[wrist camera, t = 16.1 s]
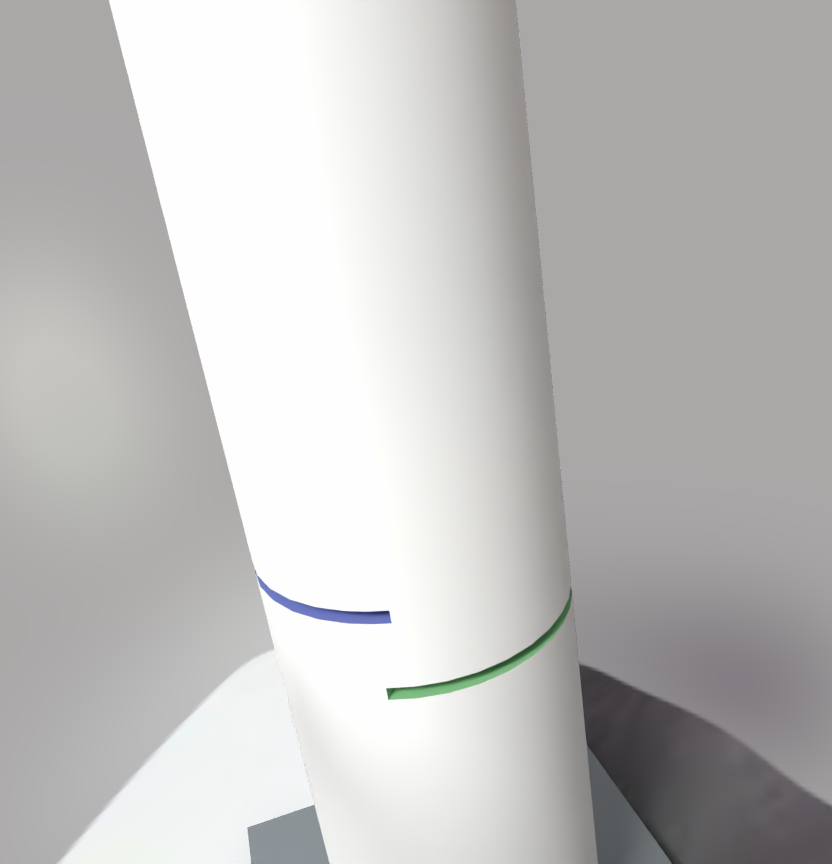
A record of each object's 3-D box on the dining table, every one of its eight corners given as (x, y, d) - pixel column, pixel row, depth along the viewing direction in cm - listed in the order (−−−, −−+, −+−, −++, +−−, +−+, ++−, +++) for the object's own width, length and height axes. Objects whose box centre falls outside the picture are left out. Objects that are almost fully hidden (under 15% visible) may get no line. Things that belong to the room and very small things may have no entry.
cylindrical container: (402, 800, 27) (233, -25, 18) (616, 835, 25) (539, -104, 16) (310, 1012, 21) (-10, -78, 12) (583, 1089, 18) (426, -223, 10)
